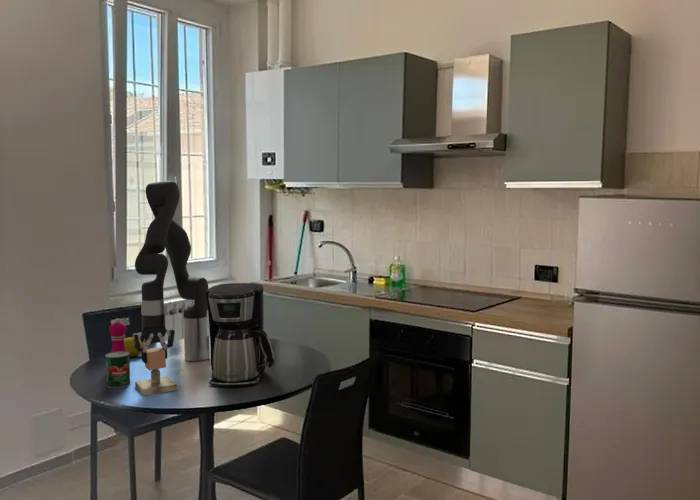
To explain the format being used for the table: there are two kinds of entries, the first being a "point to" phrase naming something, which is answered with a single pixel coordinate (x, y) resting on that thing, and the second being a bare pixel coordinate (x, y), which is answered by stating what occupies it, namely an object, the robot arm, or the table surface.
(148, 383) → the post base
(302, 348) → the table surface
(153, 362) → the cardboard cube
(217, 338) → the coffee maker
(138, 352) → the lemon
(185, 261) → the robot arm
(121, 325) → the pepper mill
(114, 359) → the canned tomato
